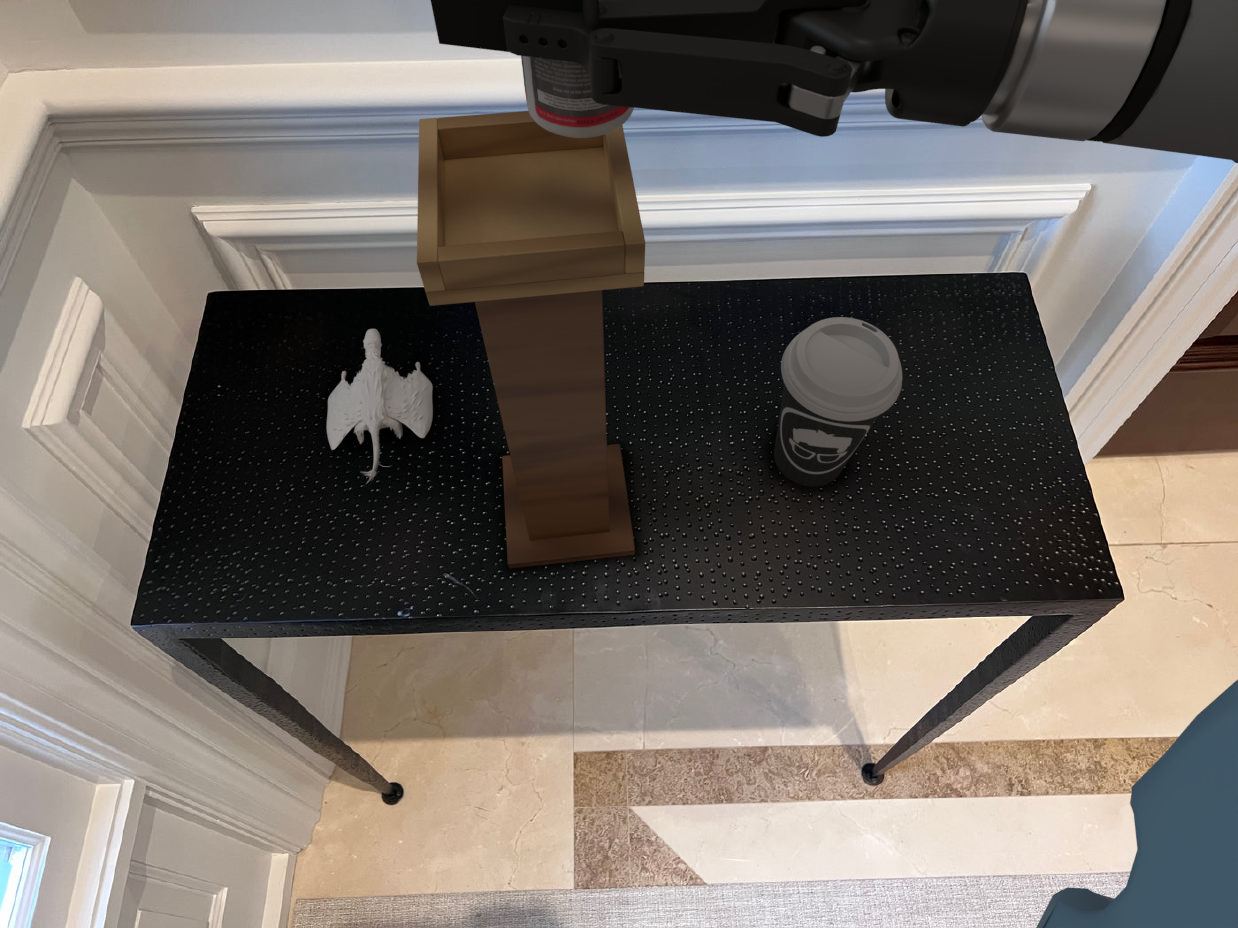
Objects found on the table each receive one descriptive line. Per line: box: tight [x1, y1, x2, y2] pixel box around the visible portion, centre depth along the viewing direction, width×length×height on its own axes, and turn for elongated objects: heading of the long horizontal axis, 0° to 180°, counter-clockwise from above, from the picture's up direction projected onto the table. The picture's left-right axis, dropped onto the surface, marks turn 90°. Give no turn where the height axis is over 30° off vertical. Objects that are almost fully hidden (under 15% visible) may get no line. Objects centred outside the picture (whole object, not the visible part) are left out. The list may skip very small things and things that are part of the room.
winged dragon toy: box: [326, 328, 434, 485], centre depth 75 cm, size 18×10×4 cm, turn 9°
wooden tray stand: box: [416, 110, 646, 569], centre depth 56 cm, size 11×11×36 cm
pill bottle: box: [520, 28, 635, 138], centre depth 35 cm, size 5×5×10 cm
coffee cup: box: [773, 316, 903, 488], centre depth 68 cm, size 10×10×15 cm
